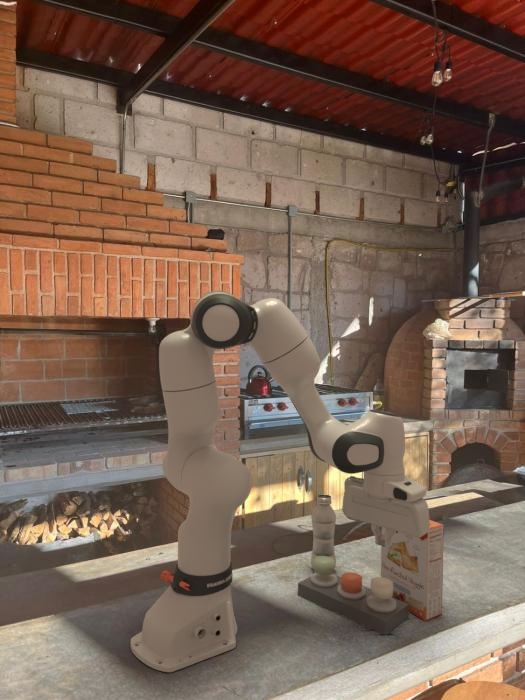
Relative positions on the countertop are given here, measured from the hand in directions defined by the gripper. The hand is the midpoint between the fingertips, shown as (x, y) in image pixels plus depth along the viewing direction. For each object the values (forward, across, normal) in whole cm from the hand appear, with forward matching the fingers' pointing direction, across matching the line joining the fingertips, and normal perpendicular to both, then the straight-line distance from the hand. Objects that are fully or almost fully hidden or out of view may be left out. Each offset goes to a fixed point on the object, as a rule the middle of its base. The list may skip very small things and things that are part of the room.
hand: (383, 545), depth 118 cm
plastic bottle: (+17, -24, +10) cm, 31 cm away
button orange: (+12, -8, 0) cm, 15 cm away
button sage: (+11, -16, 0) cm, 19 cm away
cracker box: (+17, +1, +10) cm, 20 cm away
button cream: (+11, 0, 0) cm, 11 cm away
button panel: (+16, -8, 0) cm, 18 cm away
